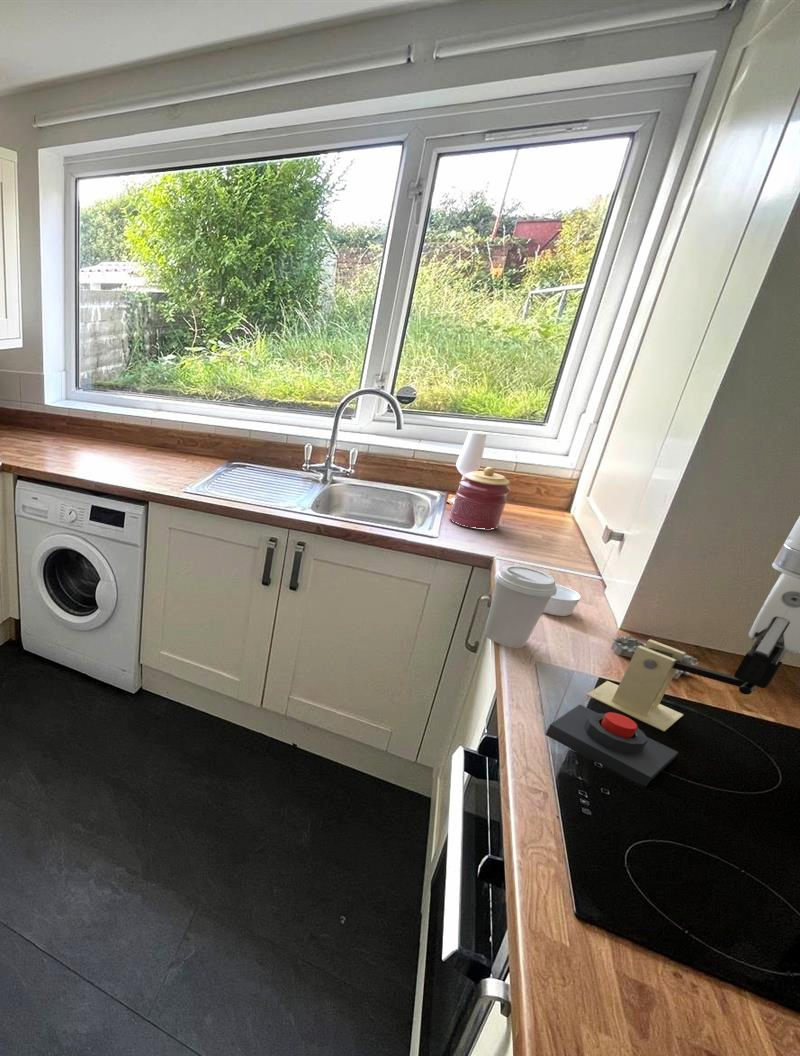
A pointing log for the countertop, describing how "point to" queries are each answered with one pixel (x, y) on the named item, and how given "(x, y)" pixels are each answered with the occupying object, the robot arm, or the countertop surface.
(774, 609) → the robot arm
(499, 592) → the coffee cup
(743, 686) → the lever
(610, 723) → the button
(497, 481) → the kitchen canister
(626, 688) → the beige lever stand
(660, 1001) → the countertop surface
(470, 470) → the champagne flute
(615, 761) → the button block
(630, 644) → the egg carton
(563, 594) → the ramekin
